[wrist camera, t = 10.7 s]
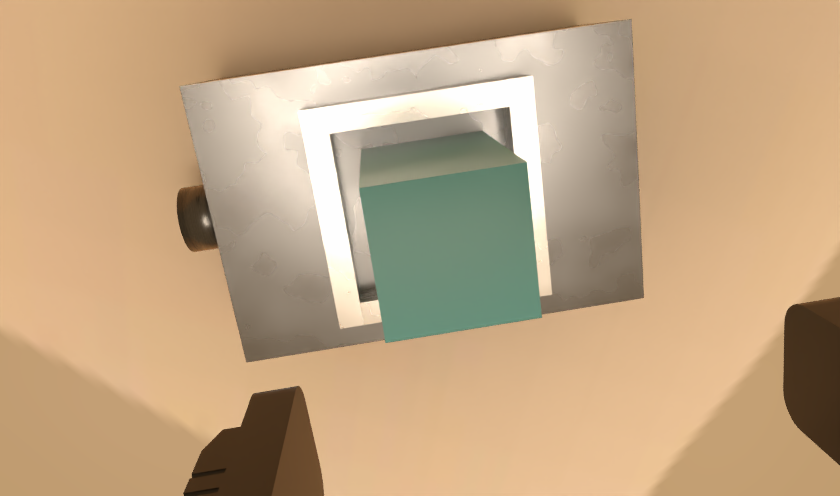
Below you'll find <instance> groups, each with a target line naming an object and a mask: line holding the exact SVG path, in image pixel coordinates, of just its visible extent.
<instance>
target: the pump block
mask: <svg viewBox="0 0 840 496" xmlns="http://www.w3.org/2000/svg"><path fill="white" fill-rule="evenodd" d="M359 192H360V198H361V203H362V209H363V215H364V221H365V227H366V232H367V238H368V244H369V250H370V256H371V261H372V267H373V273H374V279H375V285H376V290H377V296H378V302H379V308H380V314H381V319H382V325H383V331H384V337H385V343H388V342H395V341H401V340H407V339H413V338H419V337H425V336H431V335H438V334H444V333H450V332H456V331H462V330H468V329H475V328H481V327H487V326H493V325H499V324H505V323H511V322H518V321H524V320H530V319H536V318H542V314H541V304H540V293H539V282H538V272H537V261H536V250H535V240H534V229H533V219H532V208H531V197H530V187H529V176H528V165H527V162H526V161H525V160H523V159H522V158H521V157H519V156H518V155H516V154H515V153H513V152H512V151H511V150H509V149H508V148H506V147H505V146H503V145H502V144H501V143H499V142H498V141H496V140H495V139H493V138H492V137H491V136H489V135H488V134H486V133H485V132H483V131H476V132H470V133H463V134H457V135H450V136H444V137H437V138H431V139H424V140H418V141H411V142H404V143H398V144H391V145H385V146H378V147H372V148H365V149H361V163H360V179H359Z"/></svg>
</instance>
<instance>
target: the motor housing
mask: <svg viewBox="0 0 840 496" xmlns="http://www.w3.org/2000/svg"><path fill="white" fill-rule="evenodd" d="M179 87H180V91H181V95H182V99H183V103H184V107H185V111H186V116H187V120H188V124H189V128H190V132H191V136H192V140H193V144H194V148H195V153H196V157H197V161H198V165H199V169H200V173H201V177H202V181H203V185H199V186H193V187H186V188H181V189H180V190H179V193H178V197H177V214H178V221H179V226H180V230H181V233H182V236H183V239H184V241H185V243H186V245H187V247H188V248H189V249H190V250H191V251H192V252H197V251H203V250H209V249H216V248H219V251H220V255H221V260H222V264H223V268H224V272H225V276H226V280H227V284H228V288H229V292H230V297H231V301H232V305H233V309H234V313H235V317H236V321H237V325H238V329H239V334H240V338H241V342H242V346H243V350H244V354H245V358H246V362H252V361H258V360H264V359H270V358H276V357H283V356H289V355H295V354H301V353H307V352H313V351H320V350H326V349H332V348H338V347H344V346H350V345H357V344H363V343H369V342H375V341H381V340H385V337H384V331H383V325H382V319H381V314H380V308H379V302H378V296H377V290H376V285H375V279H374V273H373V267H372V261H371V256H370V250H369V244H368V238H367V232H366V227H365V221H364V215H363V209H362V203H361V198H360V192H359V179H360V163H361V149H365V148H372V147H378V146H385V145H391V144H398V143H404V142H411V141H418V140H424V139H431V138H437V137H444V136H450V135H457V134H463V133H470V132H476V131H483V132H485V133H486V134H488V135H489V136H491V137H492V138H493V139H495V140H496V141H498V142H499V143H501V144H502V145H503V146H505V147H506V148H508V149H509V150H511V151H512V152H513V153H515V154H516V155H518V156H519V157H521V158H522V159H523V160H525V161H526V162H527V165H528V176H529V187H530V197H531V208H532V219H533V229H534V240H535V250H536V261H537V272H538V282H539V293H540V304H541V314H547V313H554V312H560V311H566V310H572V309H578V308H584V307H591V306H597V305H603V304H609V303H615V302H621V301H628V300H634V299H640V298H644V290H643V267H642V245H641V222H640V199H639V176H638V154H637V131H636V108H635V85H634V62H633V40H632V19H629V20H620V21H612V22H603V23H595V24H587V25H578V26H572V27H565V28H558V29H551V30H545V31H538V32H531V33H524V34H518V35H511V36H504V37H497V38H491V39H484V40H477V41H471V42H464V43H457V44H450V45H444V46H437V47H430V48H423V49H417V50H410V51H403V52H397V53H390V54H383V55H376V56H370V57H363V58H356V59H349V60H343V61H336V62H329V63H323V64H316V65H309V66H302V67H296V68H289V69H282V70H275V71H269V72H262V73H255V74H249V75H242V76H235V77H228V78H222V79H216V80H210V81H205V82H200V83H195V84H189V85H184V86H179Z"/></svg>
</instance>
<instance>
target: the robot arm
mask: <svg viewBox="0 0 840 496" xmlns="http://www.w3.org/2000/svg"><path fill="white" fill-rule="evenodd" d="M783 384H784V385H783V388H784V389H783V391H784V399H785V403H786V406H787V409H788V412H789V414H790V416H791V418H792V420H793V421H794V423H795V424H796V426H797V427H798V428H799V429H800V430H801V431H802V432H803V433H804V434H806V435H807V436H808V437H809V438H810V439H811V440H812V441H813V442H814V443H816V444H817V445H818V446H819V447H820V448H821V449H822V450H823V451H824V452H825V453H827V454H828V455H829V456H830V457H831V458H832V459H833V460H834V461H836V462H837V463H838V464H839V465H840V297H837V298H832V299H825V300H819V301H813V302H807V303H801V304H795V305H792V306H791V307H790V308H789V309H788V310H787V313H786V316H785V325H784V383H783ZM183 494H184V496H324V490H323V480H322V473H321V468H320V463H319V459H318V454H317V450H316V446H315V441H314V437H313V432H312V428H311V424H310V419H309V415H308V410H307V406H306V402H305V398H304V394H303V392H302V389H301V388H300V387H299V386H296V387H290V388H284V389H278V390H272V391H266V392H260V393H254V394H253V395H252V397H251V399H250V402H249V405H248V408H247V411H246V413H245V416H244V419H243V422H242V425H241V427H236V428H230V429H224V430H222V431H221V432H220V433H219V434H218V435H217V436H216V437H215V438H214V439H213V440H212V441H211V442H210V443H209V444H208V445H207V446H206V447H205V448H204V449H203V450H202V451H201V454H200V456H199V458H198V461H197V463H196V466H195V468H194V470H193V472H192V478H191V479H189V482H188V484H187V487H186V489H185V491H184V493H183Z"/></svg>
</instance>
